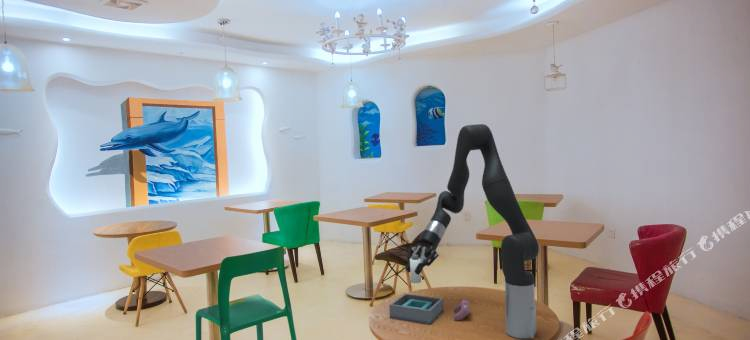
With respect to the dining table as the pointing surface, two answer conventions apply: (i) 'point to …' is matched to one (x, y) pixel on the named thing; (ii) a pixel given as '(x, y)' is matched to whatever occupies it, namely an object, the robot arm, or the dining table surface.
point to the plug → (413, 264)
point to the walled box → (416, 308)
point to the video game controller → (461, 310)
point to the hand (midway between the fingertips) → (412, 271)
